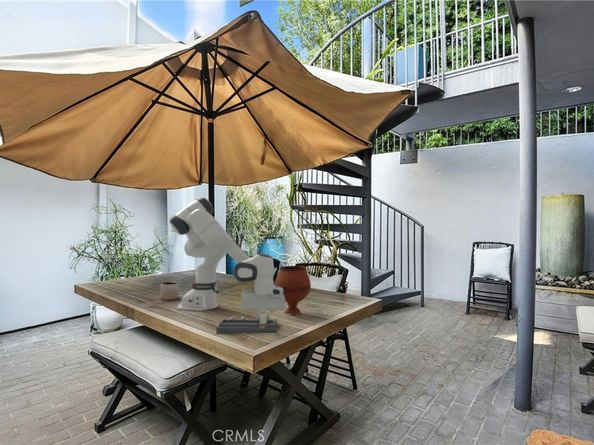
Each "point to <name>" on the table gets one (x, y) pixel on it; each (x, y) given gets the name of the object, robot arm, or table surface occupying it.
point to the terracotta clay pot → (293, 286)
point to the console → (245, 326)
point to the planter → (169, 290)
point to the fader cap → (263, 317)
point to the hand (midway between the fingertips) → (263, 319)
